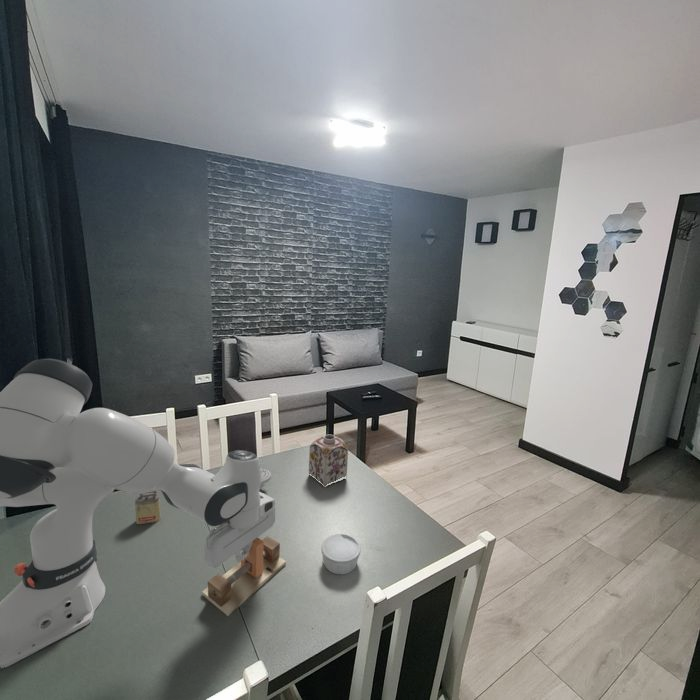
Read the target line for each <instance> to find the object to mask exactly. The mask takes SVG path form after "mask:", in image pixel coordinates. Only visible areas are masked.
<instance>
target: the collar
mask: <svg viewBox="0 0 700 700" xmlns="http://www.w3.org/2000/svg"><path fill="white" fill-rule="evenodd" d="M262 540H263V539H262ZM262 540H261V538H259V537H257V538H256V539H255V540H253V543H252V546H251V548H250V550H249V556H248V557H247V558H245V559H244V560H243V561H242V562H241V567H242V566H243V565H245V564H246V563H247V562H248V561H249V562H250V563H252V568H251V569H249V570H248V571H247V572H248V573H249V574H251V575H252V576H254V577H255V578H257V577H258V576H259V575H261V574H262V573H263V548H264V541H262ZM242 549H243V548H242Z"/></svg>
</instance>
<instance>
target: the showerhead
mask: <svg viewBox="0 0 700 700" xmlns="http://www.w3.org/2000/svg"><path fill="white" fill-rule="evenodd" d="M260 469H261V485H260V489H259V492H261V491H260V490H262V488H264V486H265V484H267V483H269V481H270V480H271V478H272V477H271V476H272V474H271V471H269V469H265V468H260Z"/></svg>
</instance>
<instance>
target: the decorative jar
mask: <svg viewBox="0 0 700 700" xmlns="http://www.w3.org/2000/svg"><path fill="white" fill-rule="evenodd" d="M308 455H309V457H308V475H309V474H311V475H312V476H314V477H315V478H316V479H317V480H318V481H320V482H321V483H322V484H323V485H324V486H326V485H327V484H329V483H331V482H334V481H336V480H338V479H340V478H342V477H345V476H346V477H347V476H348V475H347V474H348V462H349V461H348V458H349V449H348V446H347V445H346V443H345V441H344V440H343V439H342V438H340V437H338V436H336V435H333V434H325V435H324V436H320V437H317V438H316V439H315V440H314V441H313V442H312V443H311V444H310V446H309V454H308Z"/></svg>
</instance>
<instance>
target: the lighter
mask: <svg viewBox="0 0 700 700" xmlns="http://www.w3.org/2000/svg"><path fill="white" fill-rule="evenodd" d="M134 502H135V503H134V506H135V519H136V521H135V523H136V524H137V525H143V524H144V525H145V524H151V523H157V522H159V521H160V520H161V518H162V516H161V498H160V495H159V494H157V490H156V489H153V491H152V490H151V491H149V492H146V493H144V494H139V496H138V497H136V498H135V501H134Z"/></svg>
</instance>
